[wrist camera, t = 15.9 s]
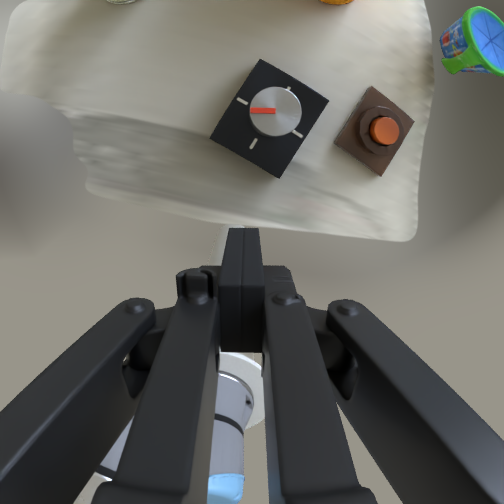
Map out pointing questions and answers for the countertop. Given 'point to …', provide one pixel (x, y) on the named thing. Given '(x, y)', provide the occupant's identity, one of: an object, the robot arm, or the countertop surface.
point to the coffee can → (121, 1)
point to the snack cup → (474, 43)
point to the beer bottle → (336, 1)
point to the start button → (384, 130)
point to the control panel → (252, 143)
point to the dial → (275, 112)
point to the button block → (358, 131)
